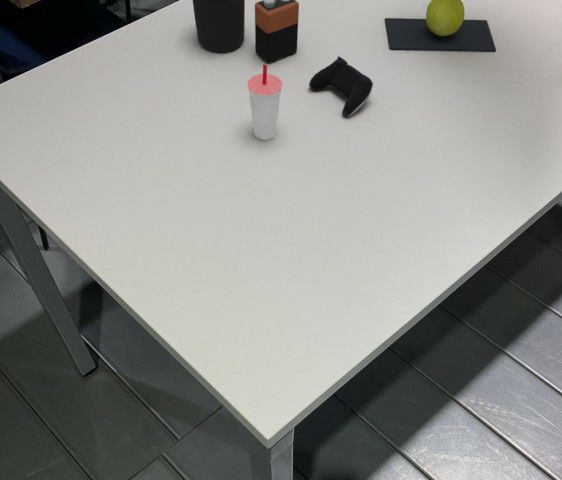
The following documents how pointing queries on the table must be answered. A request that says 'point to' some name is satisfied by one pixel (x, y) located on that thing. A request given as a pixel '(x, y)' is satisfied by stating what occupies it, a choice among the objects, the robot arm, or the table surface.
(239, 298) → the table surface
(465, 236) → the table surface
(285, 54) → the battery
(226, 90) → the table surface
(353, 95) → the gaming controller
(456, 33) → the mat
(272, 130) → the cup
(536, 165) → the table surface
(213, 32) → the pen holder
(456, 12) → the fruit
